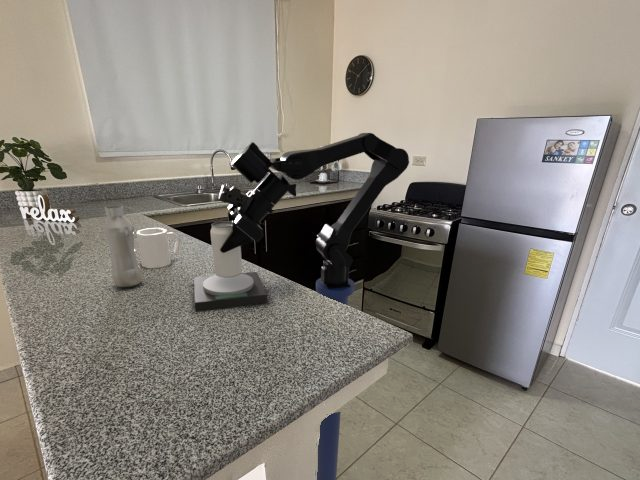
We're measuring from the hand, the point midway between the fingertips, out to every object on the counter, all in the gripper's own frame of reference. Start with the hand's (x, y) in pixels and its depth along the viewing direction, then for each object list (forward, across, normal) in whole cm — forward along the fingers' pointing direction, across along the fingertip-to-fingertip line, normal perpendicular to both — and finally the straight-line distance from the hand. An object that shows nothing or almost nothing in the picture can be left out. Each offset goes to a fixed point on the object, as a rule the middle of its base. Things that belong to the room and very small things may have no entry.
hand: (220, 247), depth 81 cm
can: (+4, 0, +6) cm, 7 cm away
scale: (+8, 0, +9) cm, 12 cm away
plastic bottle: (+25, -12, -8) cm, 29 cm away
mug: (+20, -28, -3) cm, 34 cm away
